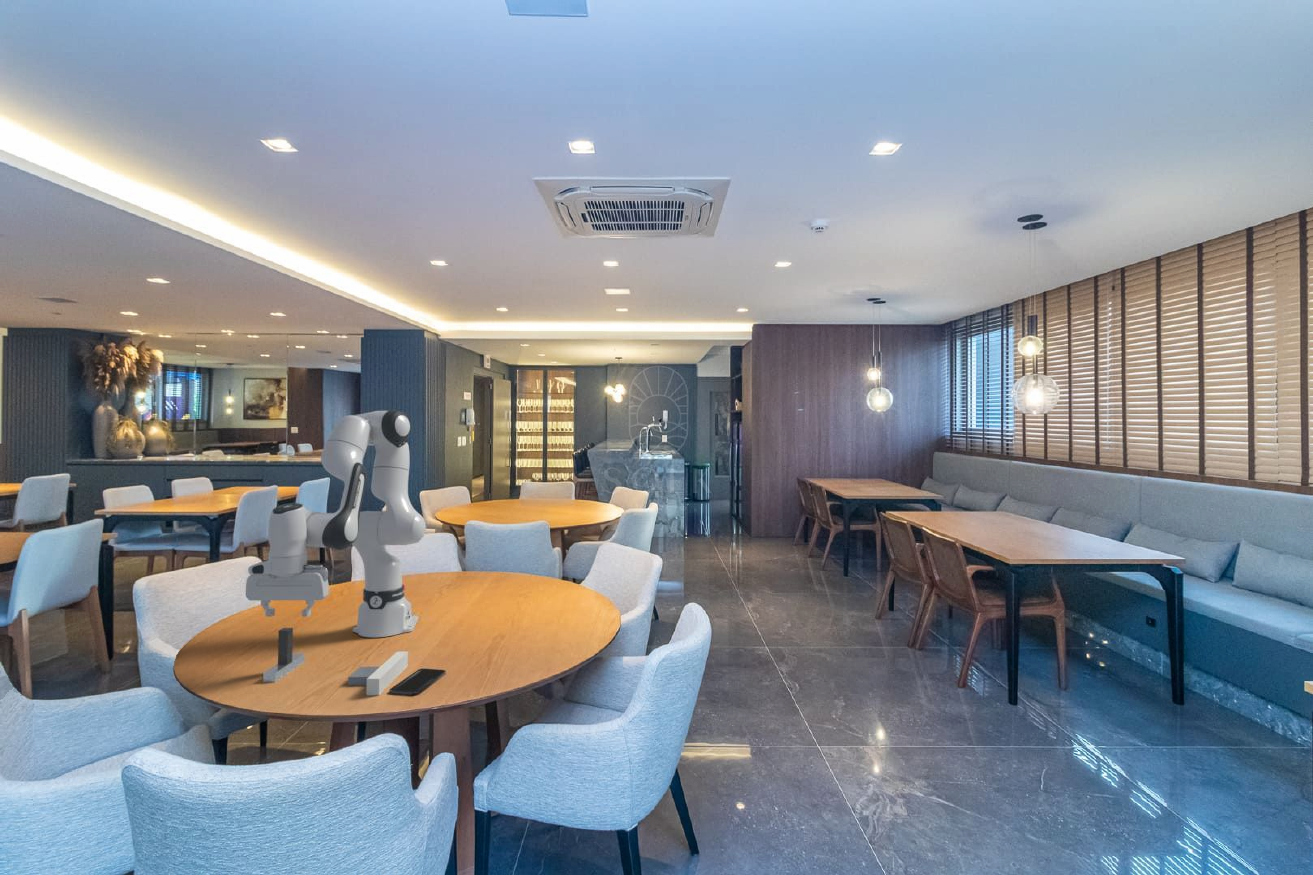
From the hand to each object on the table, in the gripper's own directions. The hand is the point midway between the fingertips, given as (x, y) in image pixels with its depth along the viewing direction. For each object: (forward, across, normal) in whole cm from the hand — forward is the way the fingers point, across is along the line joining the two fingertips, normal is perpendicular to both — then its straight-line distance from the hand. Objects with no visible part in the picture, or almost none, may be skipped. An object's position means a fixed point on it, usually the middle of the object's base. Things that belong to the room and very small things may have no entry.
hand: (288, 615), depth 160 cm
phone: (+15, -38, +9) cm, 42 cm away
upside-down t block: (+15, 0, +1) cm, 15 cm away
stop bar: (+14, -29, +7) cm, 33 cm away
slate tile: (+15, -24, +7) cm, 29 cm away
